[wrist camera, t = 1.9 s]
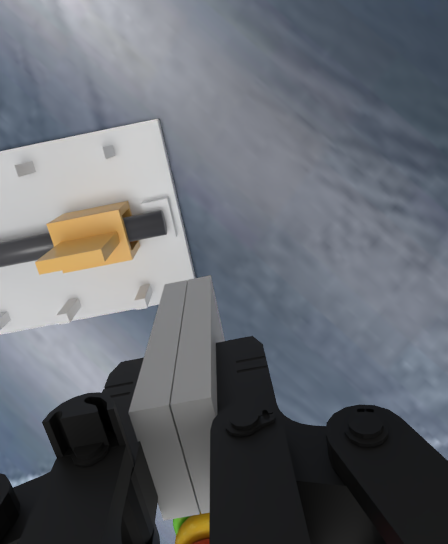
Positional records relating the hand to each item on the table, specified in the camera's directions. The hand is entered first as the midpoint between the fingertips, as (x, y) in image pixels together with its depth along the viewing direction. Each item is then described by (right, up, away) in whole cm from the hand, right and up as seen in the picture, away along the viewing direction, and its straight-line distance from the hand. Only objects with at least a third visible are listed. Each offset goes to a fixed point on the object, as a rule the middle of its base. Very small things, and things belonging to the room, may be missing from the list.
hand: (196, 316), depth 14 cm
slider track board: (-15, +4, +20) cm, 25 cm away
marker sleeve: (-8, +5, +18) cm, 20 cm away
